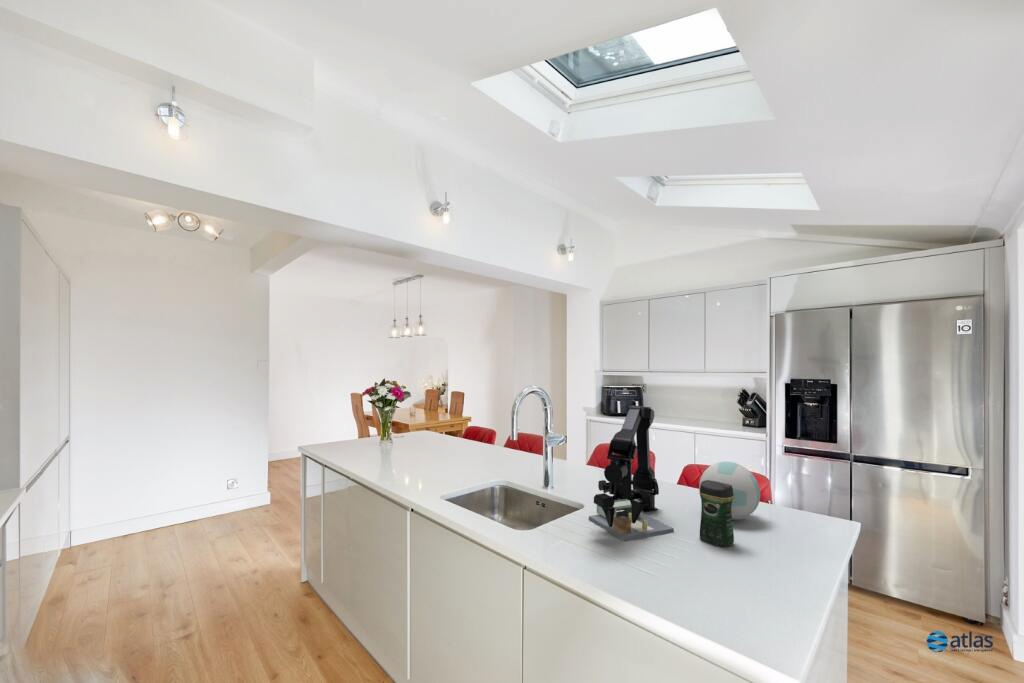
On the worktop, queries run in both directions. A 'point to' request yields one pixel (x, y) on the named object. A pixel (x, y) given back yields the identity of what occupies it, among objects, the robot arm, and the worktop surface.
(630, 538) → the board
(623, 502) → the housing
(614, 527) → the block
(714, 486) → the coffee jar
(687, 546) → the worktop surface
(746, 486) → the volleyball
